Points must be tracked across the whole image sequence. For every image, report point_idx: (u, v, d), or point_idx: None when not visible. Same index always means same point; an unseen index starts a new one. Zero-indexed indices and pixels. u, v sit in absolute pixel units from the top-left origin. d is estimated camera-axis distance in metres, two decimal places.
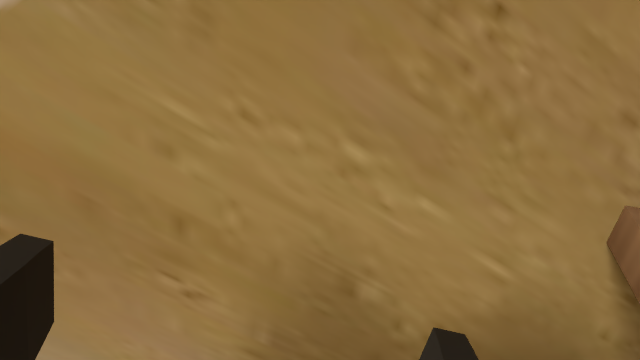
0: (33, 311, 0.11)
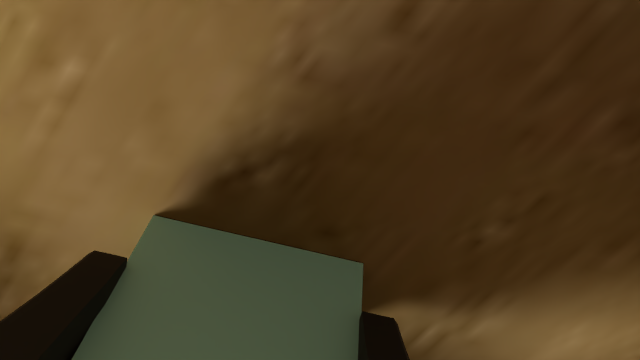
0: None
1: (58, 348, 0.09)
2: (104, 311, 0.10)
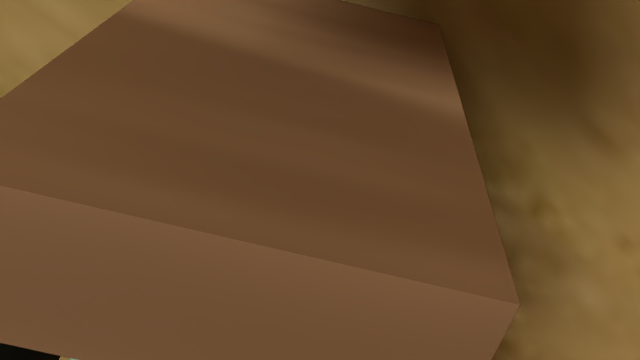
0: None
1: None
2: None
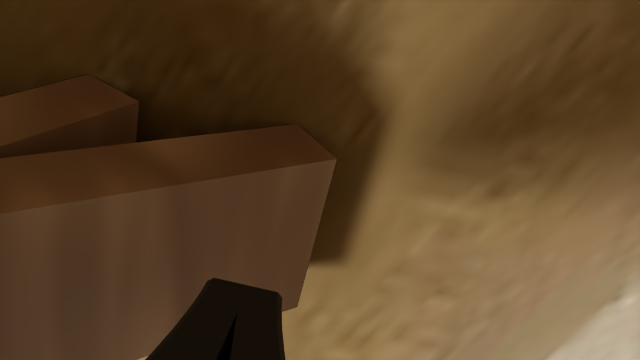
0: None
1: None
2: None
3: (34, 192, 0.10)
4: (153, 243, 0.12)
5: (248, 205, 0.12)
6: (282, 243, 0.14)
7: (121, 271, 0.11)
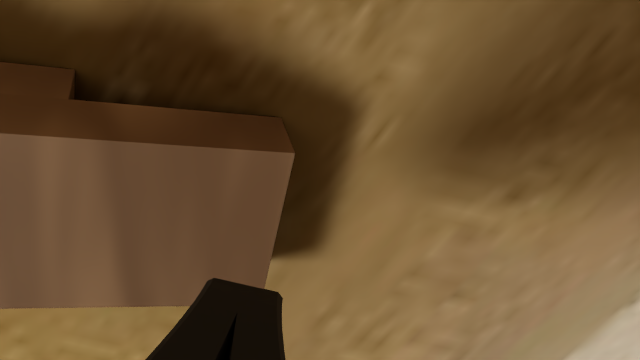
0: None
1: None
2: None
3: None
4: (90, 193, 0.12)
5: (191, 179, 0.13)
6: (236, 230, 0.14)
7: (58, 214, 0.12)
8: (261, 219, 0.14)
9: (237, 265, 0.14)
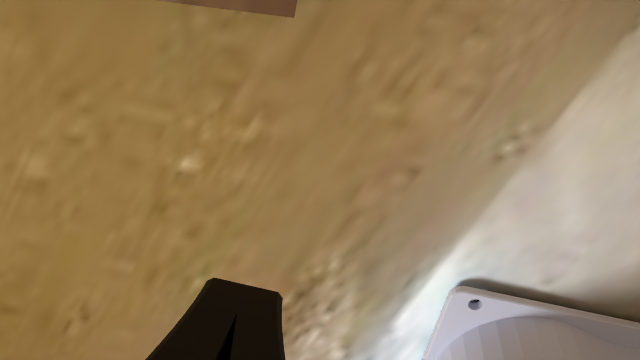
0: None
1: None
2: None
3: None
4: None
5: None
6: None
7: None
8: None
9: None
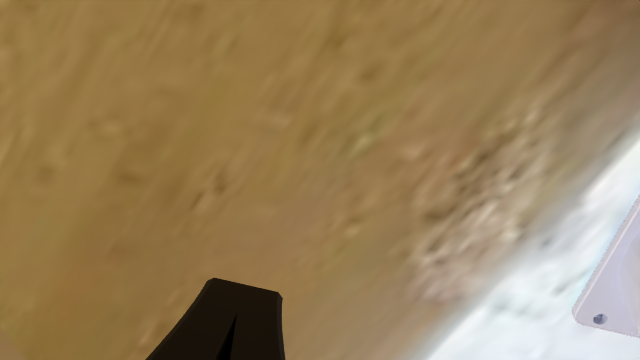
0: None
1: None
2: None
3: None
4: None
5: None
6: None
7: None
8: None
9: None
